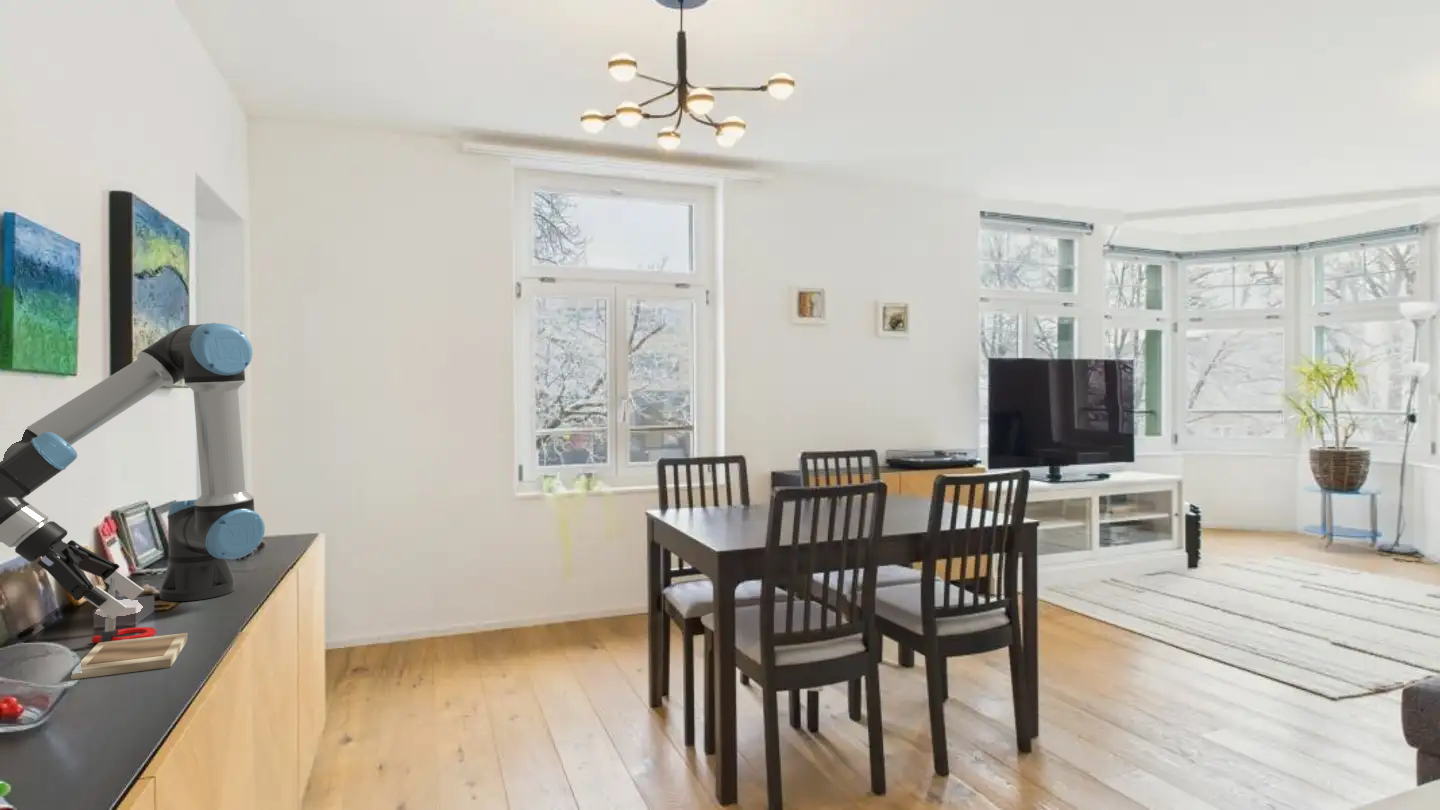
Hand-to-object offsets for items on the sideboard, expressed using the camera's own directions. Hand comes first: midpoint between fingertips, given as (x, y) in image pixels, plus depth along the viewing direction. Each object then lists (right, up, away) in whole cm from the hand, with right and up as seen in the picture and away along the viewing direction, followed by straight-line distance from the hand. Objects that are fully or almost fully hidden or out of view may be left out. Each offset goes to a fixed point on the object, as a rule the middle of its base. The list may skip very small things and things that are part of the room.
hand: (129, 603), depth 152 cm
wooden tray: (+10, -7, -11) cm, 17 cm away
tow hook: (-1, -7, 0) cm, 7 cm away
